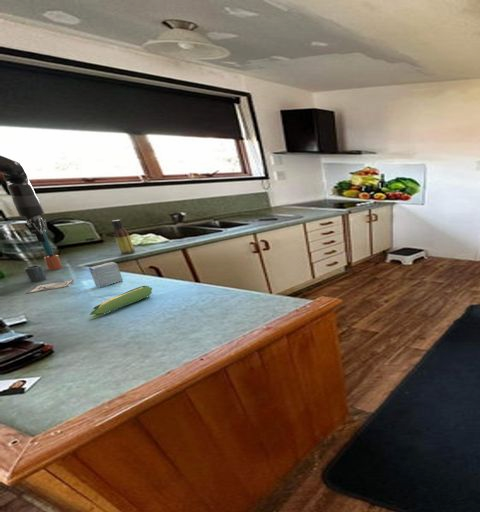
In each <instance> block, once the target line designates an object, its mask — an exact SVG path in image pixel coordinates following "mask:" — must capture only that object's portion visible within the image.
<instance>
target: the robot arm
mask: <svg viewBox="0 0 480 512" xmlns="http://www.w3.org/2000/svg"><path fill="white" fill-rule="evenodd" d="M0 174H2V177H3V178H4V180H5V182H6V186H7V190H8V192H9V195H10V196H11V199H12V203H13V204H14V207H15V209H16V211H17V214H18V216H19V217H22V218H24V217H25V219H26V223H24V226H25V228H26V229H27V230H28V231H29V232H30V234H31V235H34V236H36V239H37V241H38V242H39V243H41V242H44V241H46V239H45V237H44V235H43V232H42V230H44V232H45V234H46V237H47V239H48V240H49V236H48V234H47V231H48V224H47V219H46V218H42V216H43V215H45V211H44V208H43V207H42V203H41V202H40V200H39V198H38V196H37V194H36V192H35V190H34V187H33V186H32V184H31V182H30V180H29V177H28V174H27V171H26V169H25V166H24V165H22V163H20V162H19V161H16V160H14V159H10V158H8V157H5V156H3V155H0Z"/></svg>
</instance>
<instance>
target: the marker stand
mask: <svg viewBox="0 0 480 512" xmlns="http://www.w3.org/2000/svg"><path fill="white" fill-rule="evenodd" d="M23 269H24V271H25V273H26V275H27V277H28V279H29V281H30V283H32V284H33V283H40V282H43V281H46V280H47V276H46V274H45V271H44V270H43V267H42V265H41V264H36V265H31V266H27V267H25V268H23Z"/></svg>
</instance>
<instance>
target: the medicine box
mask: <svg viewBox="0 0 480 512" xmlns="http://www.w3.org/2000/svg"><path fill="white" fill-rule="evenodd" d="M88 270H89V272H90V275H91V277H92V280H93V282H94V285H95V286H96V287H98V288H100V287H101V288H104V287H107V286H110V284H111V285H113V283H114V284H117V283H120V282H123V281H122V280H124V279H123V277H122V274H121V271H120V269H119V265H118V263H116V262H113V261H110V262H105V263H102V264H98V265H94V266H91V267H88ZM119 281H120V282H119ZM116 282H117V283H116Z"/></svg>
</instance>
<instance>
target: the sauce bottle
mask: <svg viewBox="0 0 480 512" xmlns="http://www.w3.org/2000/svg"><path fill="white" fill-rule="evenodd" d="M111 224H112V225H113V229H114V230H113V232H114V233H113V237H114V239H115V241H116V244H117V246H118V249H119V252H120V253H121V254H122V255H128V254H127V253H129V254H132V253H134V252H135V251H136V250H135V248H134V244H133V242H132V239H131V237H130V234H129V232H128V230H127V229H126V228H124V226H123V223H122V219H113V220H111Z"/></svg>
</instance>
